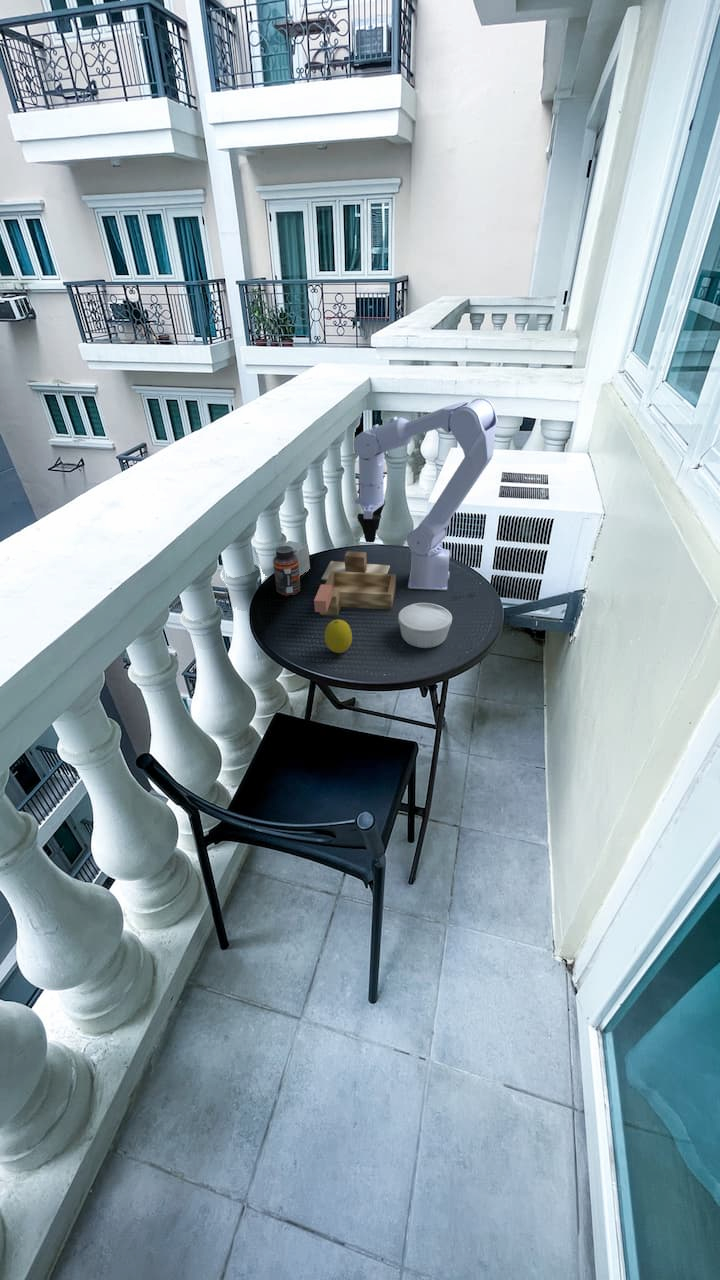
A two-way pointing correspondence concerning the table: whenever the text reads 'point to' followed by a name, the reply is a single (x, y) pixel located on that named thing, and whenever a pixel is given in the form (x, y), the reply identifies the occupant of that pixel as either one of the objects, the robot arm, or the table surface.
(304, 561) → the skincare box
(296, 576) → the supplement bottle
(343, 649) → the lemon
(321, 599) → the reddish-pink rectangular block
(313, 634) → the table surface
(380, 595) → the beige wooden shallow box
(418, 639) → the ramekin
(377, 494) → the robot arm
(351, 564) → the lid
